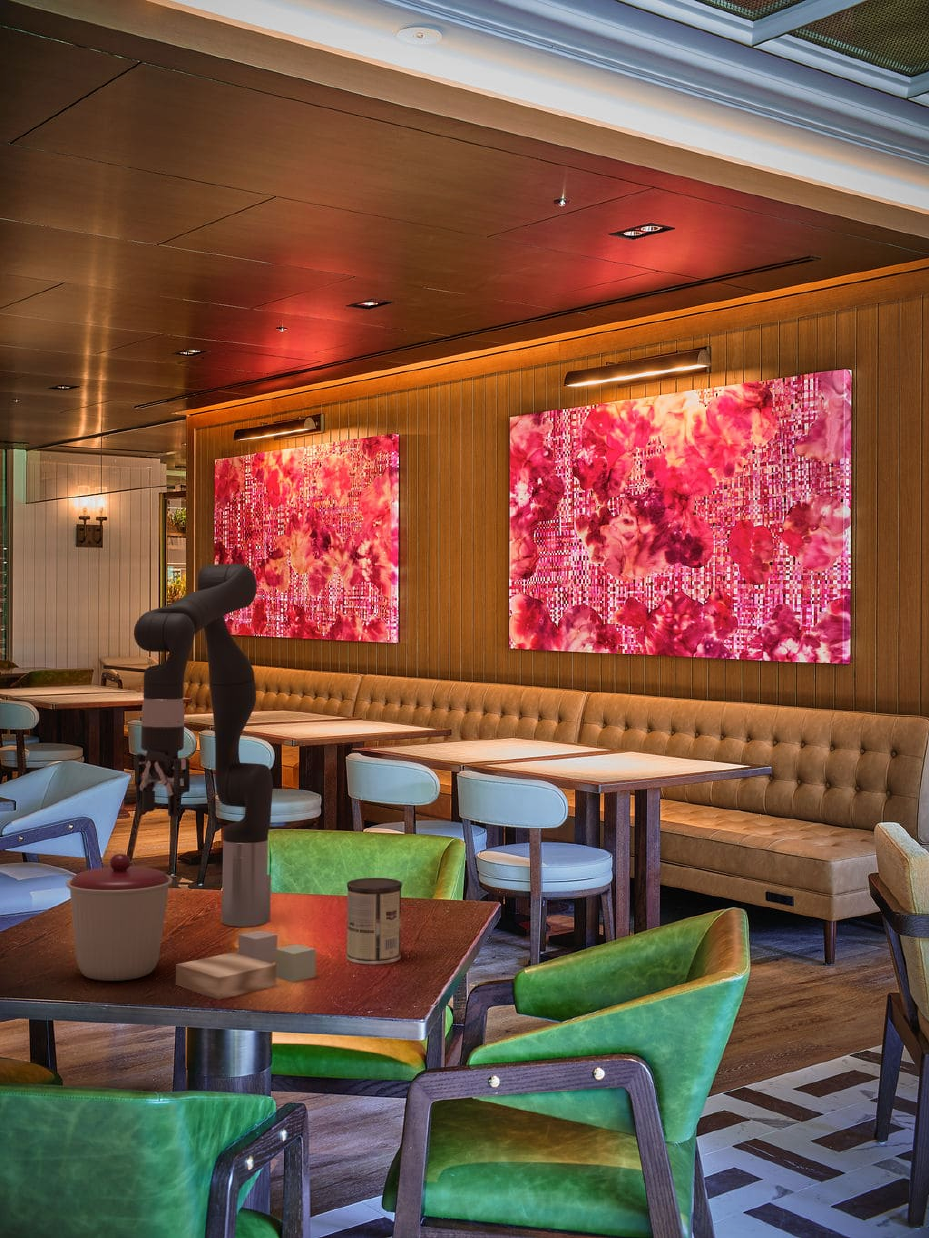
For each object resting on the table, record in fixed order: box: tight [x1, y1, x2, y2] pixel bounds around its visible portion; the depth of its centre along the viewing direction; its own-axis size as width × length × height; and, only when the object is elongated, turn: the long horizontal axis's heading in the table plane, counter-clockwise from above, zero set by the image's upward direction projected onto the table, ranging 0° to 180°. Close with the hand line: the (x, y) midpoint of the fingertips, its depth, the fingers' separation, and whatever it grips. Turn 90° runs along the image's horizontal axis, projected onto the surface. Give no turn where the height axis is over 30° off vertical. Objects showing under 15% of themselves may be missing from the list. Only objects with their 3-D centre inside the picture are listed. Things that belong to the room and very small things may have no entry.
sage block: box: [274, 943, 317, 983], centre depth 221 cm, size 5×5×5 cm
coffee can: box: [346, 877, 403, 966], centre depth 235 cm, size 10×10×14 cm
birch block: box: [175, 952, 277, 1001], centre depth 215 cm, size 12×12×4 cm
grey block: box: [237, 930, 278, 964], centre depth 231 cm, size 5×5×5 cm
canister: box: [65, 853, 173, 982], centre depth 221 cm, size 18×18×21 cm
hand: (161, 813), depth 226 cm, fingers open, 8 cm apart
